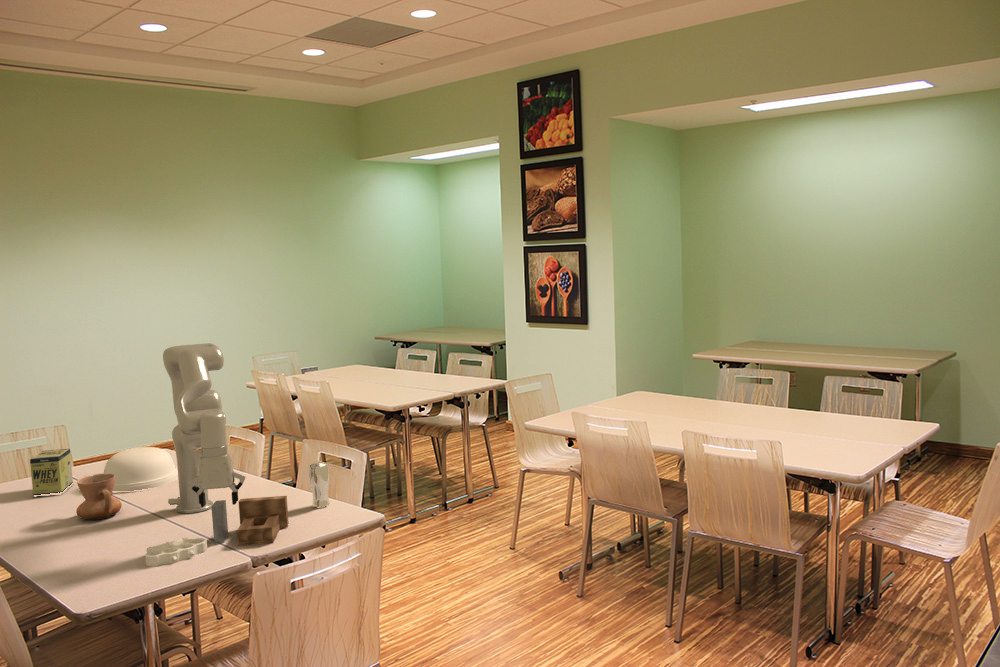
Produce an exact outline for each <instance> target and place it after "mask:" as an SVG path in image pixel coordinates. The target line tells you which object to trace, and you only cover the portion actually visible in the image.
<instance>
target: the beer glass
mask: <svg viewBox="0 0 1000 667" xmlns="http://www.w3.org/2000/svg"><path fill="white" fill-rule="evenodd" d="M308 466H309V467H308V468H309V470H308V474H309V475H308V477H309V478H308V479H309V485H310V489H311V493H312V504H311V505H312V506H313V507H325V506H327V505H329V504H330V500H329V489H330V488H329V487H330V469H329V464H328V462H315V463H311V464H309V465H308ZM330 505H331V504H330ZM330 505H329V506H330ZM313 507H312V508H313ZM325 508H326V507H325Z"/></svg>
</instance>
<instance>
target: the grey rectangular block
mask: <svg viewBox="0 0 1000 667" xmlns="http://www.w3.org/2000/svg"><path fill="white" fill-rule="evenodd" d="M210 509H211V518H212V531H213V534H212V535H213V544H224V543H225V542H226V540H227V539H228V537H229V526H228V525H229V524H228V511H227V500H226V499H221V500H220V499H219V500H215V501H214V502H213V505H212V506H211V508H210Z"/></svg>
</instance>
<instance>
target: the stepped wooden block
mask: <svg viewBox="0 0 1000 667" xmlns="http://www.w3.org/2000/svg"><path fill="white" fill-rule="evenodd" d="M287 496H288V495H279V496H277V495H276V496H262V497H250V498H249V497H248V498H240V499H238V511H239V512H238V514H239V526H238V528H237V530H236V533H237V536H236V538H237V547H241V546H243V547H244V546H255V545H268V544H274V542H275V540H276V538H277V536H278V534H279V532H280V530H281V529H285V528H284V527H287V528H288V527H289V525H290V524H289V510H288V509H289V508H288V507H289V506H288V497H287ZM288 524H289V525H288Z"/></svg>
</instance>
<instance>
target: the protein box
mask: <svg viewBox="0 0 1000 667" xmlns="http://www.w3.org/2000/svg"><path fill="white" fill-rule="evenodd" d="M71 456H72V455H71V449H70V448H62V449H51V450H50V449H49V450H42V451H40V452H39V453H37V454H36V455H34V456H33V457H31V458H30V459H29V464H30V475H31V485H32V486H31V488H32V495H41V494H50V493H58V492H59V493H60V492H63V491H64V490H65V489H66V488H67V487H68V486H70V485H71V484H72V483H73V484H74V480H73V469H72V457H71Z"/></svg>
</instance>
